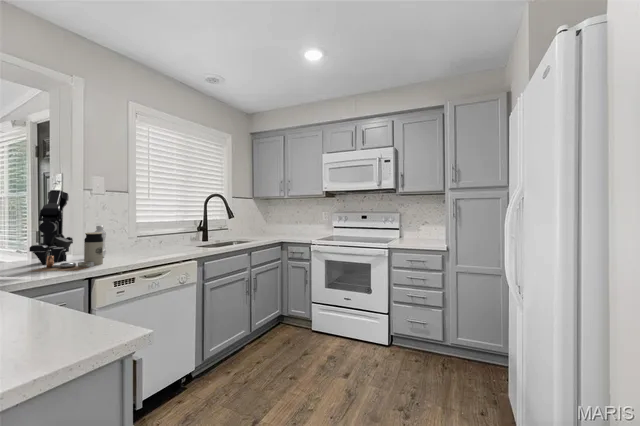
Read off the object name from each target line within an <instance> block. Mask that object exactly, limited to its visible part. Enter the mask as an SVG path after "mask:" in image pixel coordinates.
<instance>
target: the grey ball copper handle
mask: <svg viewBox="0 0 640 426" xmlns="http://www.w3.org/2000/svg"><path fill="white" fill-rule="evenodd" d="M76 266H77V263H76V262H71V261H70V262H63V263H61V262H60V264H55V262H54V256H49V255H47V262H46V265H45V267H47V268H49V267H60V268H70V267H76Z"/></svg>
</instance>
